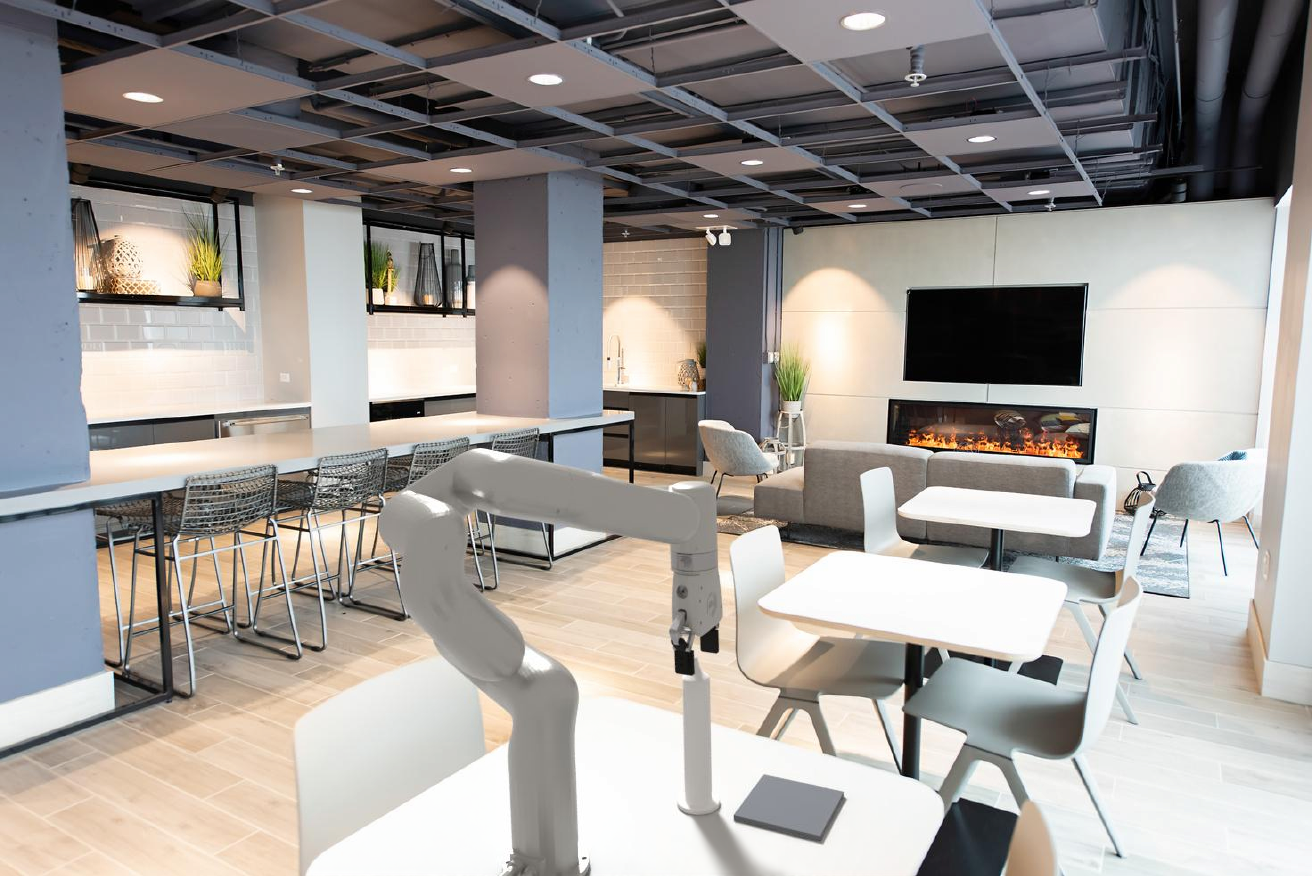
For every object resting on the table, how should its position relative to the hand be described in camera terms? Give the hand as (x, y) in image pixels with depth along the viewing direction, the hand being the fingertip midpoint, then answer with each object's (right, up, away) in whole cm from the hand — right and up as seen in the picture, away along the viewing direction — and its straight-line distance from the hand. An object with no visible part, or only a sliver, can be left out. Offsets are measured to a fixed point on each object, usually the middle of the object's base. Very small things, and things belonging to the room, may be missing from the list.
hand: (697, 662), depth 138 cm
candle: (0, -24, +3) cm, 24 cm away
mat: (+15, -24, +1) cm, 28 cm away
